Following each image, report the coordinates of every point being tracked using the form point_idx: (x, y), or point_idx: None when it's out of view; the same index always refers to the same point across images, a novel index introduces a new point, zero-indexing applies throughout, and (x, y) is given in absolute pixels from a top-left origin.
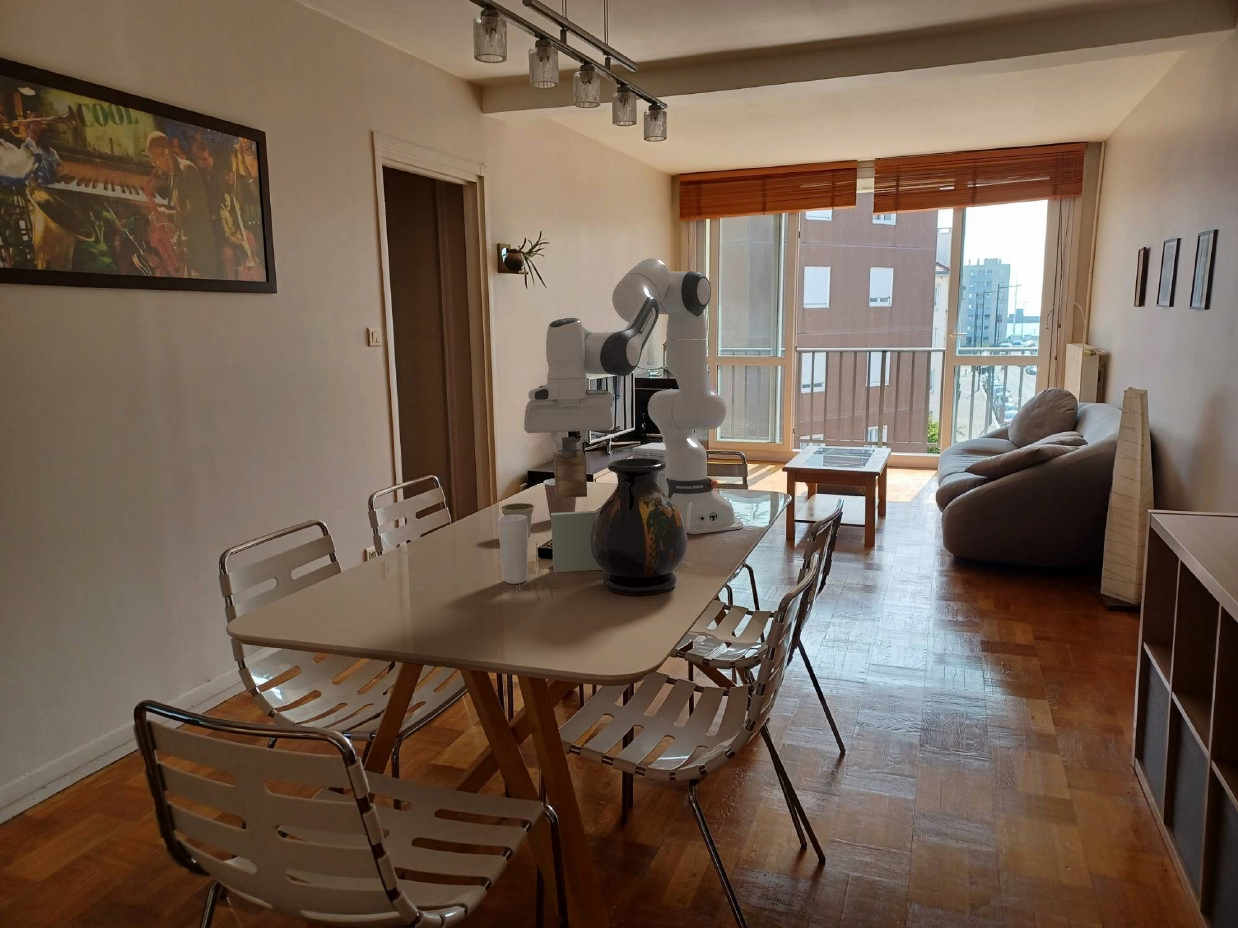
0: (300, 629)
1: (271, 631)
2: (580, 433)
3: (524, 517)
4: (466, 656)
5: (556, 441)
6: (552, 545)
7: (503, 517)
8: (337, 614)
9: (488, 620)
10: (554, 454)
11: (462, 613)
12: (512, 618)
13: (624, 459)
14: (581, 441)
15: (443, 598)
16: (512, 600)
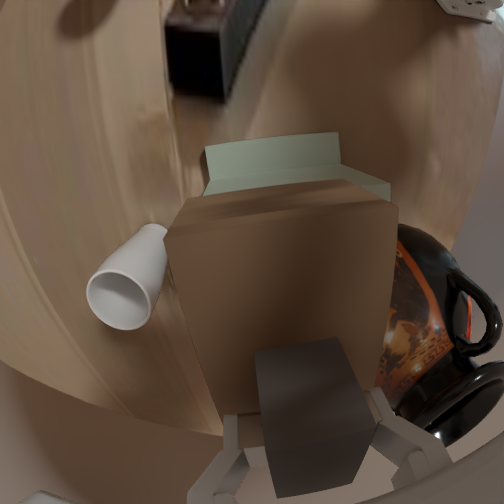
0: (24, 362)
1: (11, 361)
2: (396, 485)
3: (140, 284)
4: (180, 426)
5: (234, 484)
6: (206, 187)
7: (91, 282)
8: (22, 336)
9: (168, 375)
10: (200, 349)
11: (131, 355)
12: (193, 372)
13: (461, 398)
14: (384, 449)
15: (85, 307)
16: (174, 323)
